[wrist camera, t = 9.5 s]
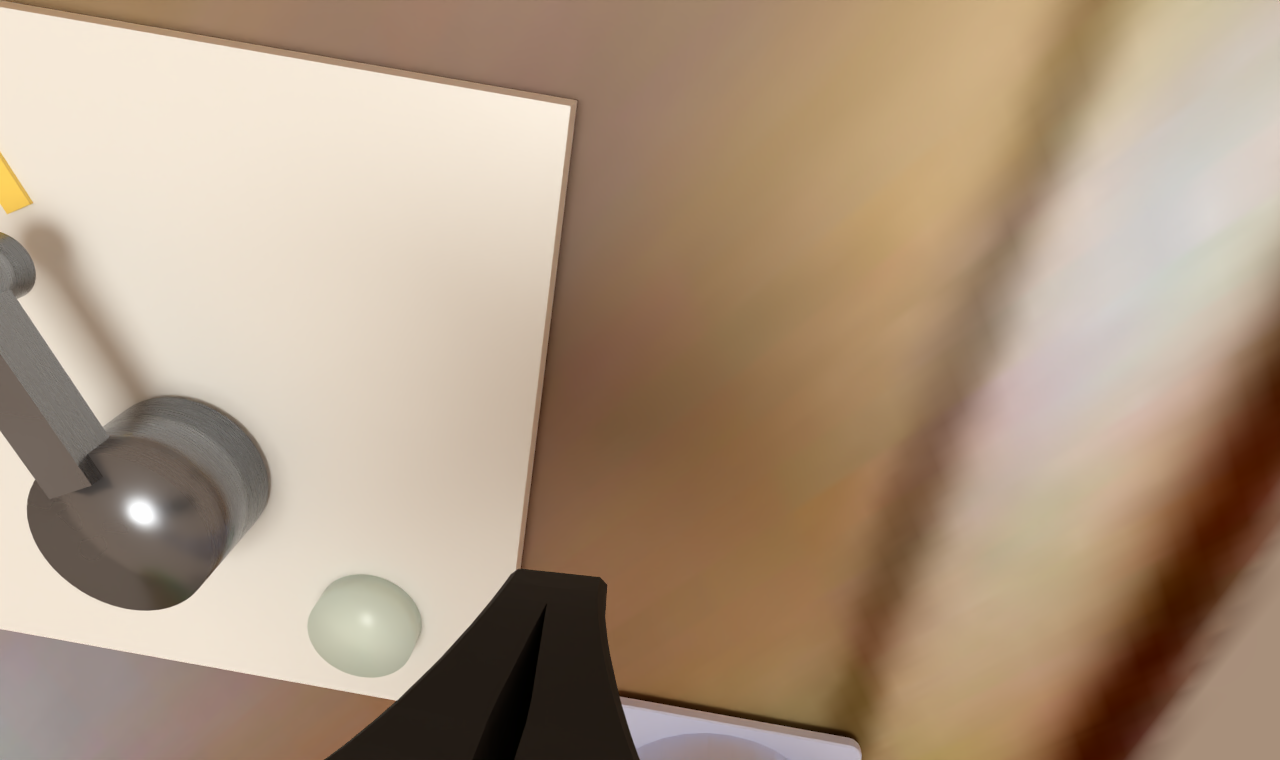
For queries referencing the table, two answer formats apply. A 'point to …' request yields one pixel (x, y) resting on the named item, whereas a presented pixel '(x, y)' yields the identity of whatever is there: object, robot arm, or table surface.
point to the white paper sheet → (290, 326)
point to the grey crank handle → (120, 472)
